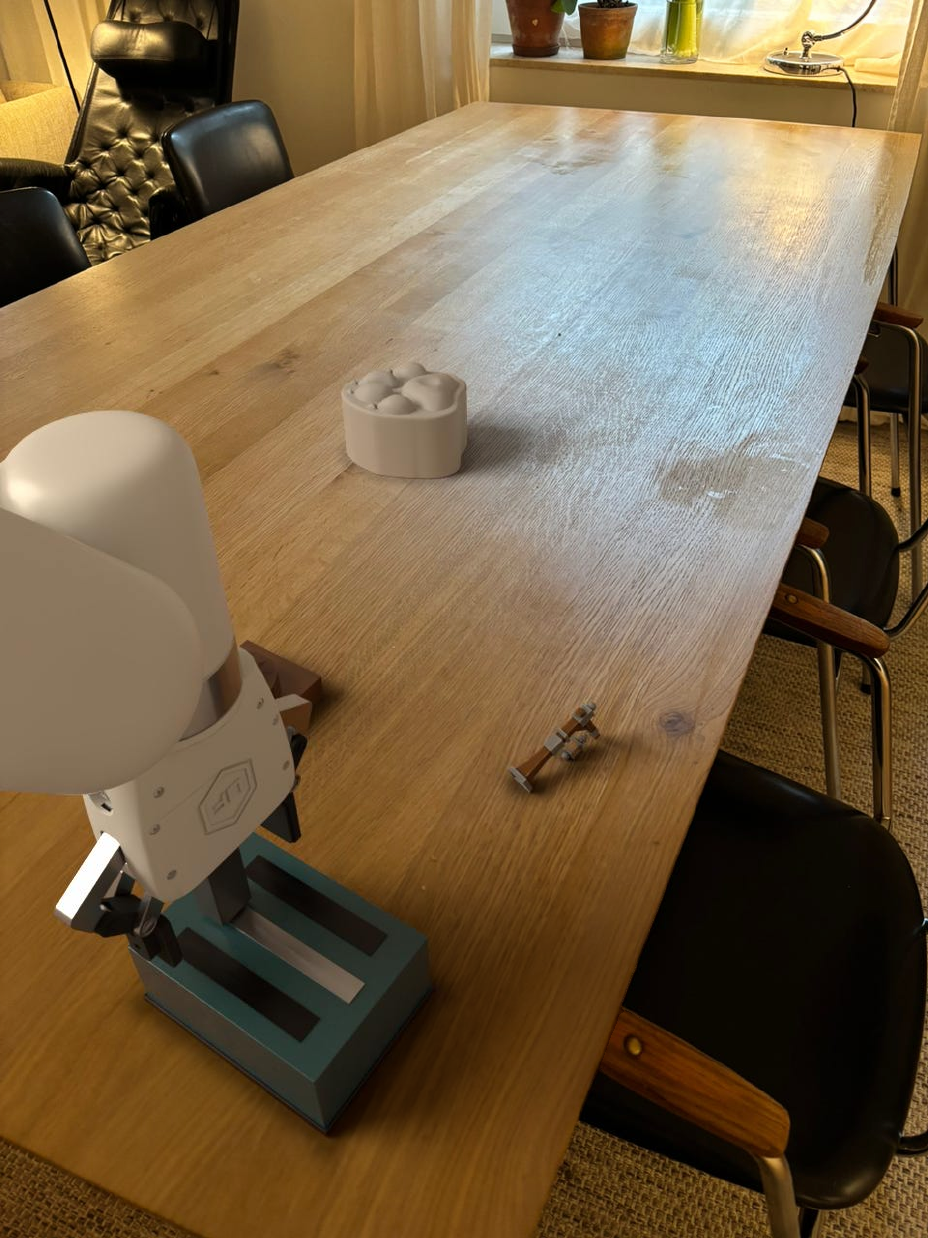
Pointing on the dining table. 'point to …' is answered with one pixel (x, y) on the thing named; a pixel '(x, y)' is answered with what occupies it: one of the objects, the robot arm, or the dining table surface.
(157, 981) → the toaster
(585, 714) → the wooden post with brackets
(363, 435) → the lumpy-topped squat cylinder
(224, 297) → the dining table surface
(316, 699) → the control block
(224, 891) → the slider
